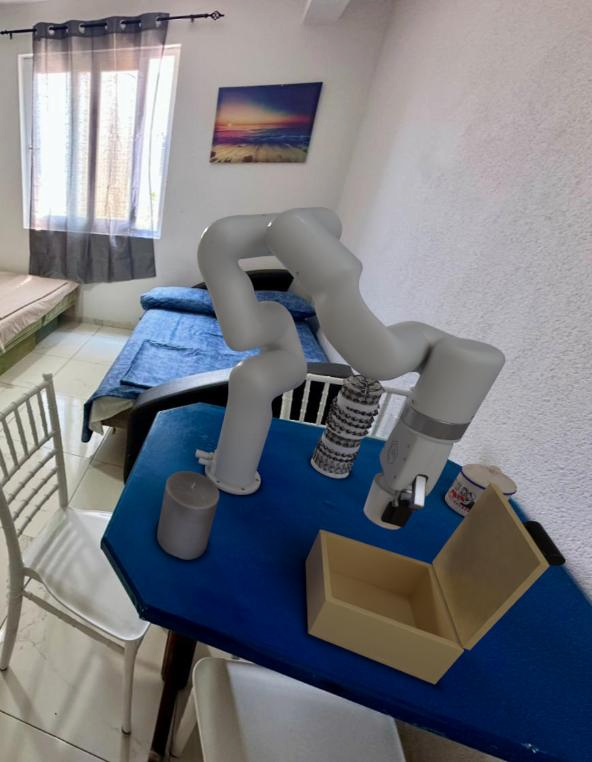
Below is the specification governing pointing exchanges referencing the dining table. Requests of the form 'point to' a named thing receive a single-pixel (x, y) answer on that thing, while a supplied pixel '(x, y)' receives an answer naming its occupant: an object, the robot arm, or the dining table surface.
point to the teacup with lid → (476, 486)
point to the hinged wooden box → (380, 606)
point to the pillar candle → (187, 514)
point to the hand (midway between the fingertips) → (387, 507)
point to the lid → (491, 564)
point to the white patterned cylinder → (347, 425)
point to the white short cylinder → (381, 500)
